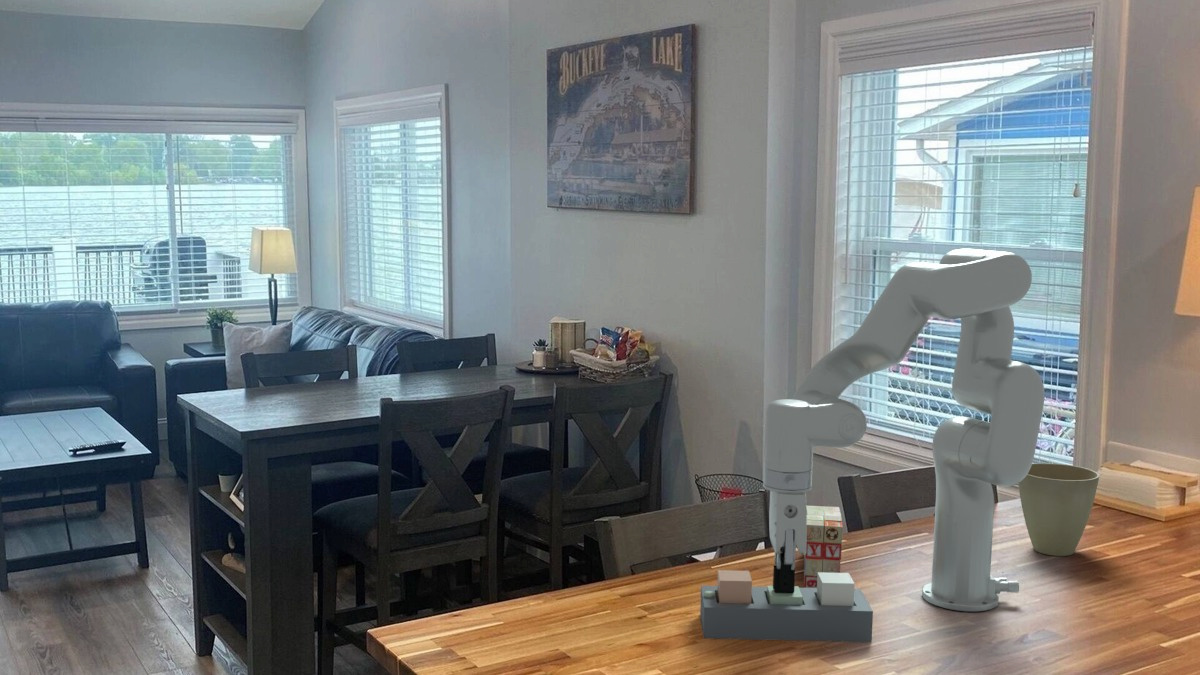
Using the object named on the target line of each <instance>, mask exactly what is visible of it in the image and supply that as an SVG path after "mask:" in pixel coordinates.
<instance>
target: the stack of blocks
mask: <svg viewBox="0 0 1200 675" xmlns="http://www.w3.org/2000/svg"><path fill="white" fill-rule="evenodd" d="M806 507H807V552H806V554H805V555H803V569H804V572H803V588H817V574H818V572H825V573H841V560H842V549H843V548H842V547H843V543H842V542H843V527H844V526H843V520H842V513H841V509H840V507H839V506H826V505H824V506H821V505H806Z"/></svg>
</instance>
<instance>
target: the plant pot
mask: <svg viewBox="0 0 1200 675" xmlns="http://www.w3.org/2000/svg"><path fill="white" fill-rule="evenodd" d="M1099 480H1100V474H1099V472H1097V471H1094V470H1093V469H1091V468H1086V467H1082V466H1076V465H1072V464H1064V463H1053V462H1052V463H1051V462H1035V463H1034V462H1032V465H1031V468H1030V470H1029V472H1028V474H1027V475H1026V477H1025V478H1024V479H1023V480H1022V481H1021V482H1020V483H1018V484H1017V485H1018V491H1019V499H1020V504H1021V508H1022V509H1021V510H1022V514H1023V517H1024V522H1025V525H1026V529H1027V532H1028V536H1029V539H1030V543H1031V546H1032V548H1033V550H1035V551H1036V552H1037V553H1040V554H1043V555H1047V556H1054V557H1055V556H1056V557H1066V556H1072V555H1073V554H1074V553H1075V552H1076V550H1077V547H1078V546H1079V543H1080V541H1081V539H1082V536H1083V534H1084V531H1085V528H1086V526H1087V523H1088V521H1089V519H1090V518H1089V517H1090V515H1091V513H1092V508H1093V506H1094V502H1095V497H1096V493H1097V489H1098V485H1099Z"/></svg>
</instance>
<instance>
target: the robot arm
mask: <svg viewBox="0 0 1200 675" xmlns="http://www.w3.org/2000/svg"><path fill="white" fill-rule="evenodd" d="M1032 281H1033V274H1032V270H1031V267H1030V265H1029V264H1028V261H1026V259H1025V258H1024V257H1022V256H1021V255H1019V254H1017V253H1013V252H1008V251H1001V250H1000V251H999V250H985V249H979V248H978V249H975V248H960V249H953V250H951V251H948V252H946V253H945V254H944V255H943V256H942V257H941V259H940V260H939V263H931V262H910V263H907V264H904V265H902V266H901V267H900V268H898V269H897V270H896V272H895V273H894V274H893V276H892V277H891V278H890V280H889V282H888V283H887V284H886V286H885V287H884V289H883V291H882V292H881V294H880V295H879V297H878V298H877V300H876V302H875V303H874V304H873V306H872V308H871V309H870V310H869V312H868V314H867V315H866V317H865V318H864V320H863V322H862V323H861V325H860V326H859V327H858V329H857V330H856V331H855V333H854V334H853V335H851V336H850V337H848V338H847V339H845V340H844V341H843V342H841V343H840V344H838V345H837V346H835V347H834V348H833V349H832V350H831V351H829V352H827V354H825V355H824V356H822V357H821V358H820V359H819V360H818V361H816V363H815V364H814V365H813V366H812V368H811V369H809V371H808V373H807V374H806V376H805V377H804V378H803V380H802V382H801V383H800V385H799V386H798V388H797V389H796V390H795V392H794V395H793V396H792V398H790V399H788V398H787V399H785V398H784V399H781V398H780V399H776V400H773V401H770V403H768V404H767V407H766V409H765V430H764V432H765V433H764V452H763V453H764V456H763V459H764V460H763V461H764V463H763V488H764V489H765V490H767V491H769V514H768V515H769V518H768V519H769V520H768V521H769V523H768V524H769V525H768V526H769V530H768V531H769V540H770V543H771V546H772V549H773V551H774V565H773V571H772V572H773V573H772V574H773V575H772V576H773V577H772V586H773V589H774V592H775V593H794V587H795V586H796V585H795V581H796V579H795V578H796V567H795V566H796V551H798V553H799V554H801V555H802V556H804V555H805V554H806V552H807V507H806V506H807V494H806V493H809V492H811V491H812V488H813V487H812V485H813V467H814V466H813V465H814V464H813V462H814V448H815V447H823V448H824V447H825V448H835V449H841V448H842V449H844V448H848V447H851V446H854V445H856V444H858V443H859V441H861V440H862V439H863V437H864V435H865V433H866V431H867V425H868V423H867V417H866V416H865V412H863V410H862V409H861V408H860V407H859V406H858V405H856V404H855V403H853V402H851V401H849V400H846V399H841V398H840V396H841V395H842V394H843V393H844V392H845V390H847V389H848V388H849V387H850V386H851V385H852V384H854V383H855V382H856V381H858V380H859V379H862V378H863V377H866V376H868V375H871V374H874V373H878V372H880V371H884V370H888V369H889V368H891V367H895V366H897V365H898V364H900V363H901V362H902V361H903V360H904V358H905V357H906V355H907V354H908V352H909V350H910V349H911V348H912V346H913V344H914V343H915V341H916V339H917V338H918V337H919V335H920V333H921V332H922V330H923V329H924V327H925V326H926V325H927V323H928V321H929V320H930V319H931V318H937V319H942V320H958V319H960V334H959V341H958V349H957V353H956V358H955V363H954V364H955V365H954V369H953V376H952V382H951V384H952V385H951V393H952V397H953V399H954V400H955V401H956V403H958V404H959V405H960V406H962V407H964V408H966V409H969V410H972V411H976V412H979V413H982V414H986V415H990V419H989V420H990V422H989V421H985V420H981V419H977V418H975V417H969V416H955V417H950V418H948V419H945V420H944V421H943V422H942V423H940V425H938V427H937V429H936V430H935V433H934V435H933V438H932V458H933V464H934V472H935V488H936V490H935V507H934V508H935V509H934V529H933V531H934V532H933V546H932V547H933V548H932V567H931V568H932V569H931V570H932V571H931V582H929V583H926V584H924V585H923V587H922V588H921V597H922V598H923V599H924V600H925V601H926V602H928V603H929V604H931V605H934V606H937V607H939V608H943V609H946V610H953V611H959V612H960V611H961V612H985V611H989V610H992V609H994V608H996V607H997V606H998V605H999V599H1000V598H999V595H1000V593H1001V592H1003V593H1005V592H1006V593H1016V594H1017V593H1019V591H1020V584H1019V582H1018V580H1007V577H994V575H992V573H991V570H992V555H993V554H992V551H993V533H994V532H993V530H994V515H995V495H994V494H995V493H994V490H993V486H992V485H994V486H999V487H1005V488H1007V487H1013V486H1015V485H1019V484H1018V483H1020V482H1021V481H1022V480H1023V479H1024V478H1025V477H1026V475H1027V474H1028V472H1029V470H1030V468H1031V465H1032V463H1034V459H1035V454H1036V449H1037V448H1036V447H1037V444H1038V438H1039V434H1040V428H1041V422H1042V417H1043V410H1044V403H1045V388H1044V383H1043V380H1042V377H1041V376H1040V374H1039V372H1038V371H1037V370H1036V368H1033V367H1032V366H1031V365H1029V364H1027V363H1025V362H1022V361H1018V360H1017V361H1016V360H1012V352H1013V344H1014V337H1015V336H1014V335H1015V322H1014V317H1013V316H1014V315H1013V314H1012V311H1011V308H1010V306H1013V305H1015V304H1017V303H1018V302H1020V301H1021V300H1022V299H1023V298H1024V297H1025V296H1026V295H1027V294H1028V292H1029V290H1030V288H1031V285H1032ZM796 548H797V549H796Z"/></svg>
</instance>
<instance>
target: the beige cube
mask: <svg viewBox="0 0 1200 675" xmlns="http://www.w3.org/2000/svg"><path fill="white" fill-rule="evenodd" d="M716 586H717V602H718V603H743V604H751V597H752V587H753V580H752V577H751V573H750V570H731V569H730V570H726V569H725V570H723V569H722V570H721V569H720V570H719V569H718V570H717V584H716Z"/></svg>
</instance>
